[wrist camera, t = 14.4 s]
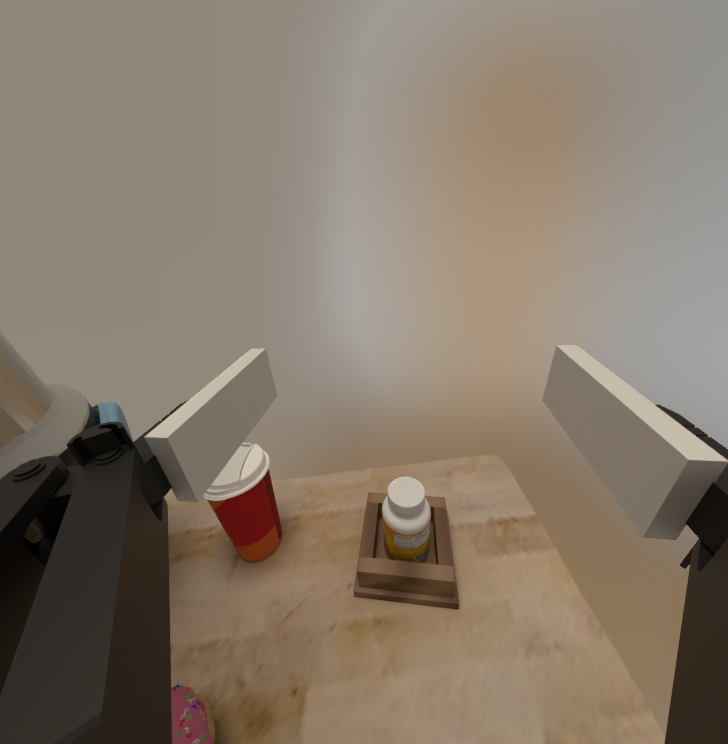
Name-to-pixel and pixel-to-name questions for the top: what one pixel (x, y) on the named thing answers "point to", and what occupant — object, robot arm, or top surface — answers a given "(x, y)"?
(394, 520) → the supplement bottle
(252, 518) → the paper cup
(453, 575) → the socket block
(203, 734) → the cupcake
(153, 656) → the robot arm
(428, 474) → the top surface
